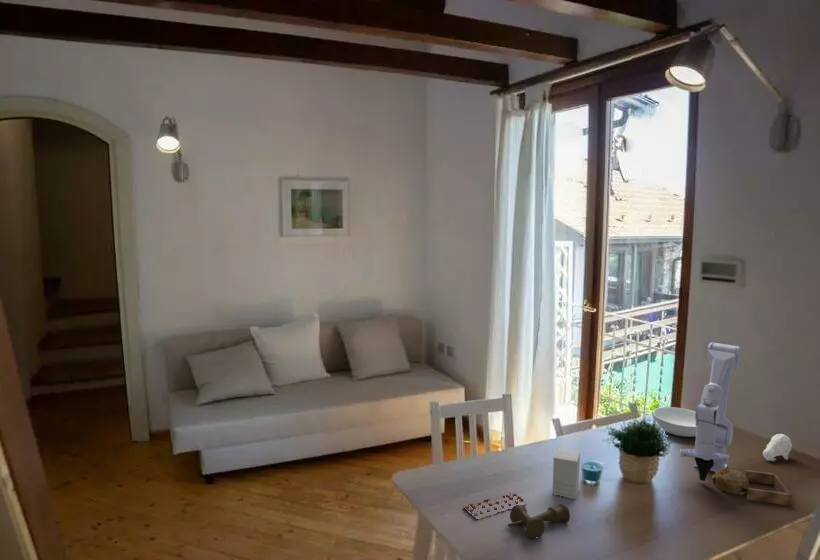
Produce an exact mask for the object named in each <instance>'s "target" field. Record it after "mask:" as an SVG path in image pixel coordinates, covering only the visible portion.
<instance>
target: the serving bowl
mask: <svg viewBox="0 0 820 560" xmlns="http://www.w3.org/2000/svg"><path fill="white" fill-rule="evenodd" d="M695 411H696V410H691V409H687V408H682V407H676V406H675V407H674V406H662V407H658V408H655V409H653V411H652V418H653V420H654V419H655V420H656V421H657V423H658V424H659V426H660V427H661V428H663V429H666V431H665V432H666V433H668V434H671V435H674V436H679V437H689V438H690V437H692V438H693V437H696V427H697V426H696V419H695ZM660 427H659V428H660ZM661 428H660V429H661Z"/></svg>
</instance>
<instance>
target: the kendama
mask: <svg viewBox="0 0 820 560" xmlns="http://www.w3.org/2000/svg"><path fill="white" fill-rule="evenodd" d="M570 517H571V513H570V510H569V508H568V507H567V505H566V504H564V503H559V504H558V505H557V507H552V506H550V507H549V506H548V508H547V510H546V511H544V512H542V513H541V514H540V513H539V514H538V515H535V516H530V515H529V514H528V512H527V508H526V505H524V506H523V505H516V506H514V507H513V508H512V509H511V510H510V513H509V518H510V521H511V522H510V523H508V524H507V526H508V527H514V526H520V525H522V526H523V527H524V528H525V531H526V536H527V537H528V538H529V539H530V538H536V537H539V538H541V537H542V536H543V535H544V532H545V528H546V523H545V522H551V523H552V524H557V522H563V521H564V523H568V522H569V521H570V519H571V518H570ZM540 536H541V537H540Z"/></svg>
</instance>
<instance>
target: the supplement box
mask: <svg viewBox="0 0 820 560" xmlns="http://www.w3.org/2000/svg"><path fill="white" fill-rule="evenodd" d="M580 456H581V454H580V452H577V451H572V450H566V449H561V448H557V450H556V452H555V454H554V456H553V464H552V466H553V470H552V472H553V473H552V495H553V494H555V495H554V496H556V495H560V496H559V497H561V496H564V497H563V498H566V497H567V499H571V498H572V499H571V500H576V499H577V495H578V492H579V490H580V489H579V487H580V486H579V485H580V483H579V481H580V462H581V460H580V459H581V457H580Z"/></svg>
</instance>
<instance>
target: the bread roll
mask: <svg viewBox="0 0 820 560" xmlns="http://www.w3.org/2000/svg"><path fill="white" fill-rule="evenodd" d="M711 478H712V480H713V483H714V485H715V487H716V488H718V489H719V488H720V489H719V490H720V491H722V490H723V492H726V493H728V494H732V495H739V496H743V495H745V494H747V490H748V488H751V485H750V482H749V481H748V479H747V478H746V476H745V474H743V472H742V471H740V470H737V469H734V468H728V467H727V468H726V469H721V470H719V471H717V472H714V474H713V475H712V477H711Z"/></svg>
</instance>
